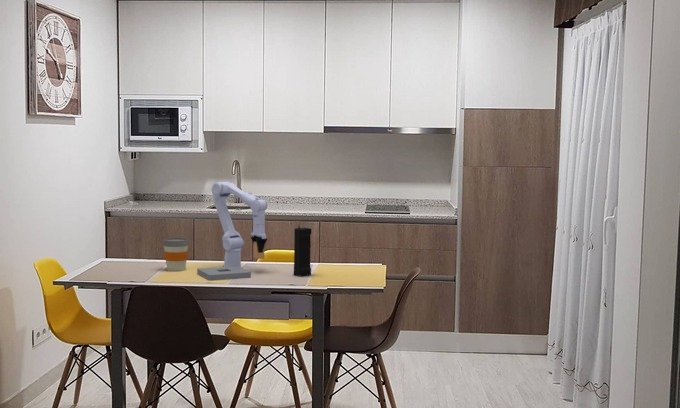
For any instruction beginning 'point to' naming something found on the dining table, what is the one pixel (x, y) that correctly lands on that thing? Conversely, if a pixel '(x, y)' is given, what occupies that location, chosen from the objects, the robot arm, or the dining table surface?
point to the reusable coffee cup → (176, 253)
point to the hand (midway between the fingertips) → (258, 251)
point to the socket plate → (223, 273)
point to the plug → (256, 253)
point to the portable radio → (302, 251)
